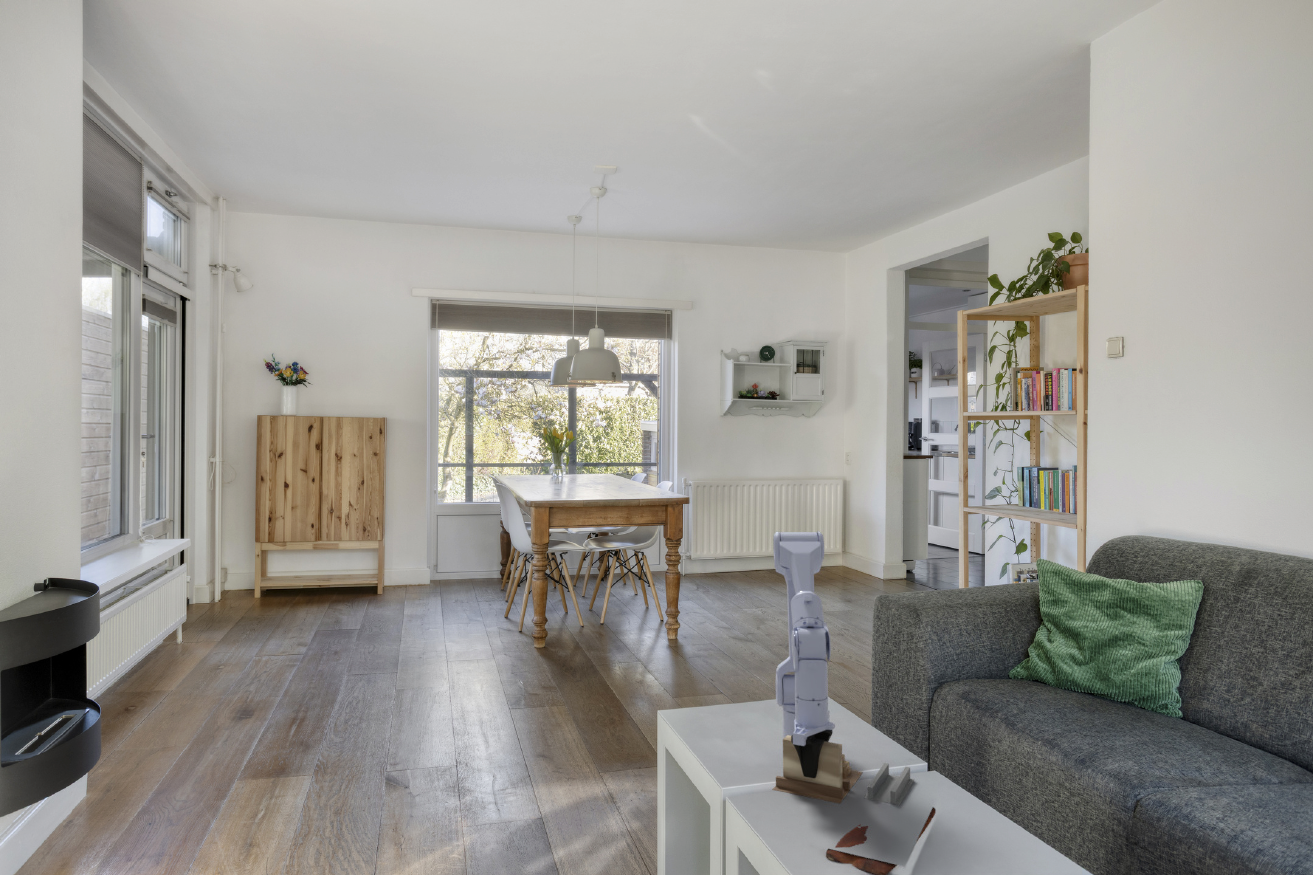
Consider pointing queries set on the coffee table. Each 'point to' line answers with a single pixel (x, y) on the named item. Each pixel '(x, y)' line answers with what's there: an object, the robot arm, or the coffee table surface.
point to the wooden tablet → (862, 863)
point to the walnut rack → (817, 787)
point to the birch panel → (827, 764)
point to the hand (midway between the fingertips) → (812, 773)
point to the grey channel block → (889, 786)
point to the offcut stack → (845, 767)
